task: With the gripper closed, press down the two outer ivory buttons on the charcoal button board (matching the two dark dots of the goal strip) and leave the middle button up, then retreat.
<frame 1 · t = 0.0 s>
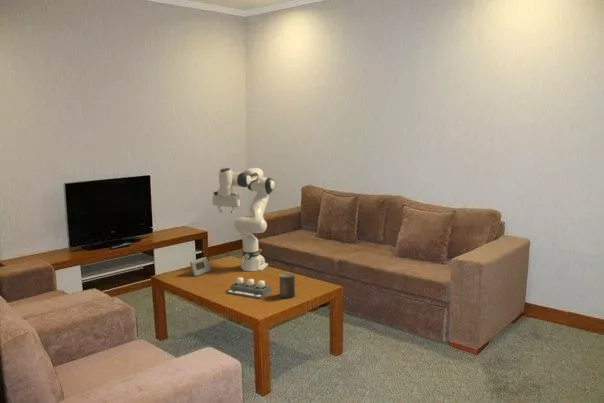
hand: (226, 212, 329), 48 cm above the table, fingers open, 8 cm apart
digital clock: (200, 273, 354), on the table
pillar candle: (287, 296, 308), on the table
button 1: (239, 281, 318), point 6 cm above the table, slide at 0.0 cm
button 3: (261, 284, 311), point 6 cm above the table, slide at 0.0 cm
board: (250, 291, 316), on the table
button 2: (250, 283, 315), point 6 cm above the table, slide at 0.0 cm
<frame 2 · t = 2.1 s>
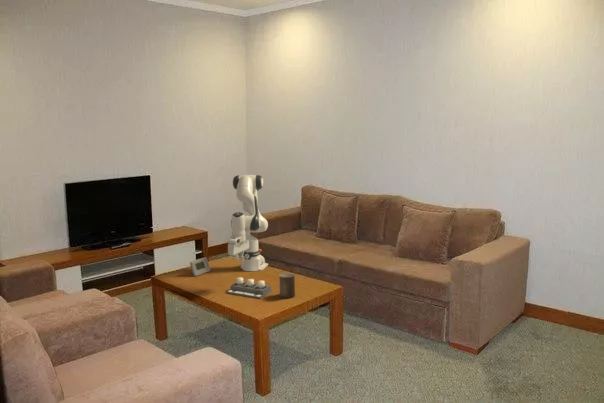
hand: (239, 258, 315), 21 cm above the table, fingers open, 3 cm apart
nothing on the table moved.
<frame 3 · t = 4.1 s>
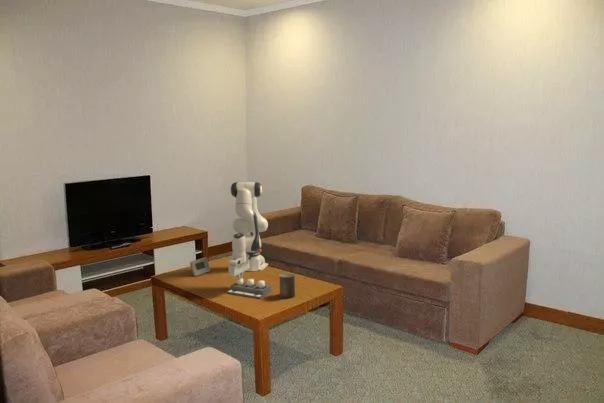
hand: (239, 279, 318), 7 cm above the table, fingers closed, pressing on button 1
button 1: (239, 282, 318), point 5 cm above the table, slide at 0.7 cm, touching gripper
everything else where it was.
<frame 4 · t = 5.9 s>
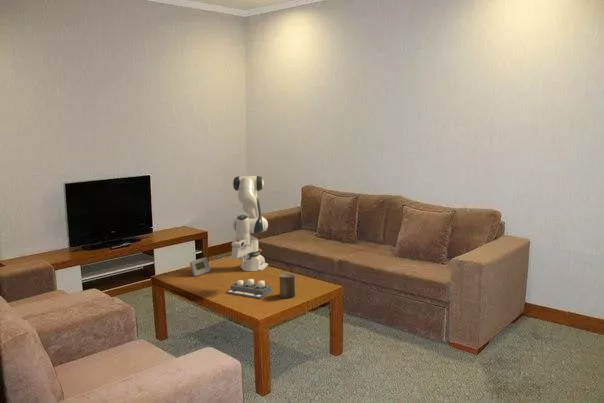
hand: (243, 261, 314), 20 cm above the table, fingers closed
button 1: (240, 284, 318), point 4 cm above the table, slide at 1.9 cm
everything else where it was.
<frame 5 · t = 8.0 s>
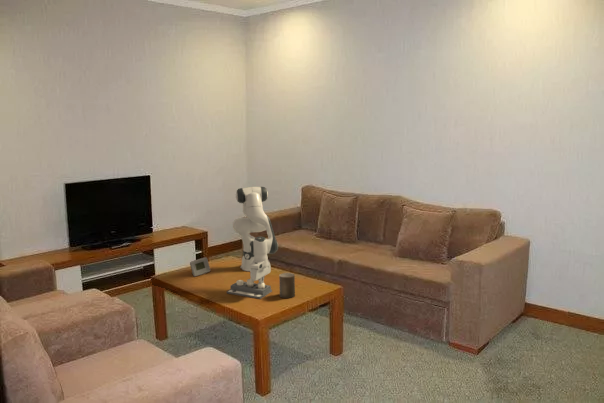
hand: (261, 283, 311), 7 cm above the table, fingers closed, pressing on button 3
button 3: (261, 286, 312), point 4 cm above the table, slide at 1.2 cm, touching gripper
everything else where it was.
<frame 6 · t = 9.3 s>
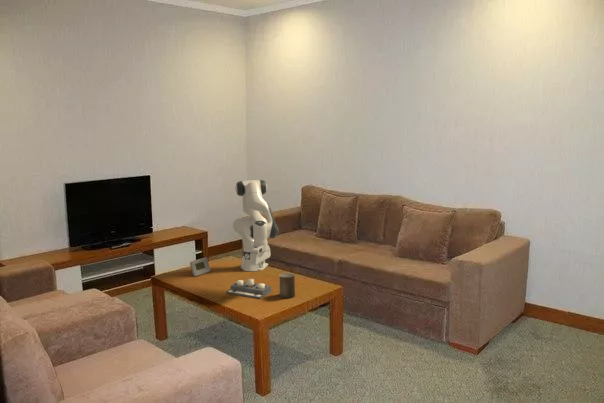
hand: (260, 267, 310), 17 cm above the table, fingers closed
button 3: (261, 287, 312), point 4 cm above the table, slide at 1.9 cm
everything else where it was.
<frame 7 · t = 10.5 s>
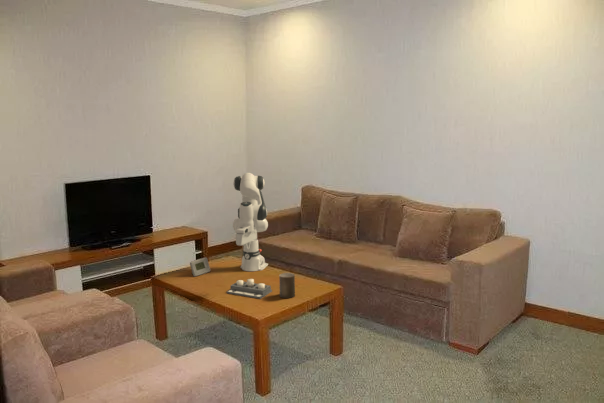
hand: (247, 249, 308), 29 cm above the table, fingers closed
nothing on the table moved.
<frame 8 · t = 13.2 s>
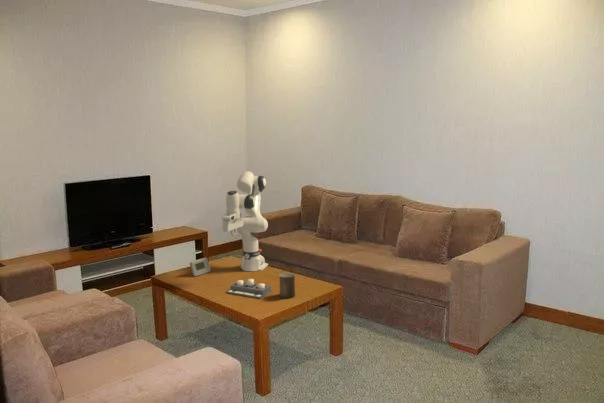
hand: (233, 235, 328), 33 cm above the table, fingers closed
nothing on the table moved.
at the end: button 1 slide at 1.9 cm; button 3 slide at 1.9 cm; button 2 slide at 0.0 cm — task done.
